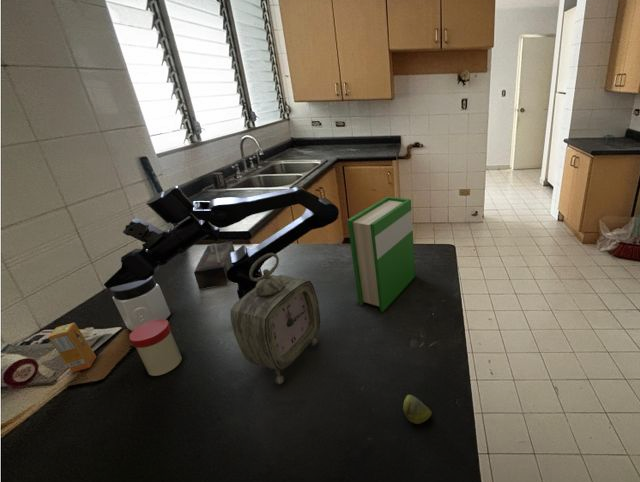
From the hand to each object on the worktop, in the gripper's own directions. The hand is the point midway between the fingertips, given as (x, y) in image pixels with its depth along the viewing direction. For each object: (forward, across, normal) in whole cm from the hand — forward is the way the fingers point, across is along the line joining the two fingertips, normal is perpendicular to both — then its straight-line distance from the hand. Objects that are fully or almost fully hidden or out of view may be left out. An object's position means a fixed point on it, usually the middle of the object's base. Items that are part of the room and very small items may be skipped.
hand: (115, 280), depth 73 cm
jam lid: (-2, +11, +12) cm, 17 cm away
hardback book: (-46, +7, +41) cm, 62 cm away
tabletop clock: (-19, +20, +32) cm, 42 cm away
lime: (-34, +44, +45) cm, 72 cm away
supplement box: (+15, +1, +12) cm, 19 cm away
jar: (+6, -9, +13) cm, 17 cm away
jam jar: (+1, +9, +20) cm, 22 cm away
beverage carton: (-9, -27, +15) cm, 32 cm away
